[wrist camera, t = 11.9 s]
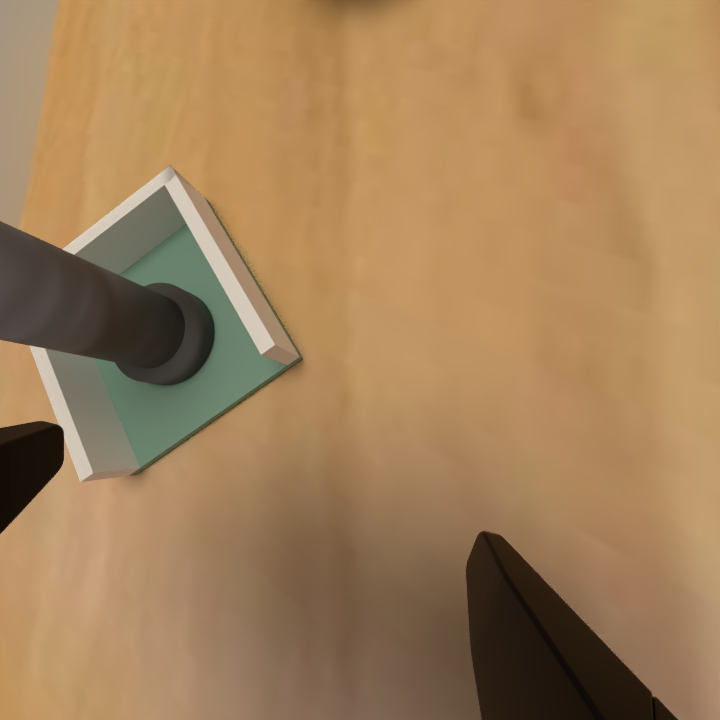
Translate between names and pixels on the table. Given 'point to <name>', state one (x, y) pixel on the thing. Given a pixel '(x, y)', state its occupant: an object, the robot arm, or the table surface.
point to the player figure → (99, 312)
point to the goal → (193, 274)
